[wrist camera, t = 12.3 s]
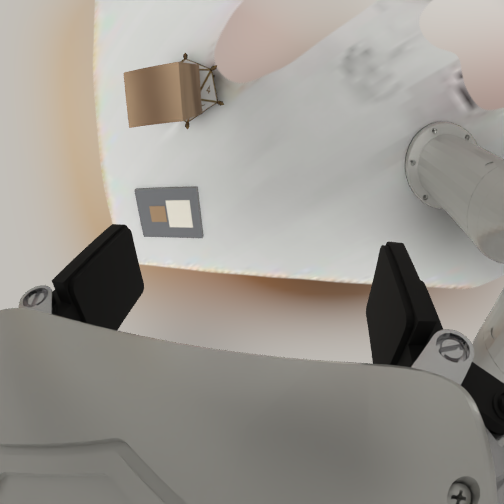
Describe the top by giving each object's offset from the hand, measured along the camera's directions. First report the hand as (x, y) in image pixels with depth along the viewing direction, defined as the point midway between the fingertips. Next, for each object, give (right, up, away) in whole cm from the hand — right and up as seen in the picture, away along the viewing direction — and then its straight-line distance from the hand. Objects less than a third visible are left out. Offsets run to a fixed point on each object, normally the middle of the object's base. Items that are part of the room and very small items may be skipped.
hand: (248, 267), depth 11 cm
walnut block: (-8, +18, +18) cm, 26 cm away
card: (-12, +7, +35) cm, 37 cm away
